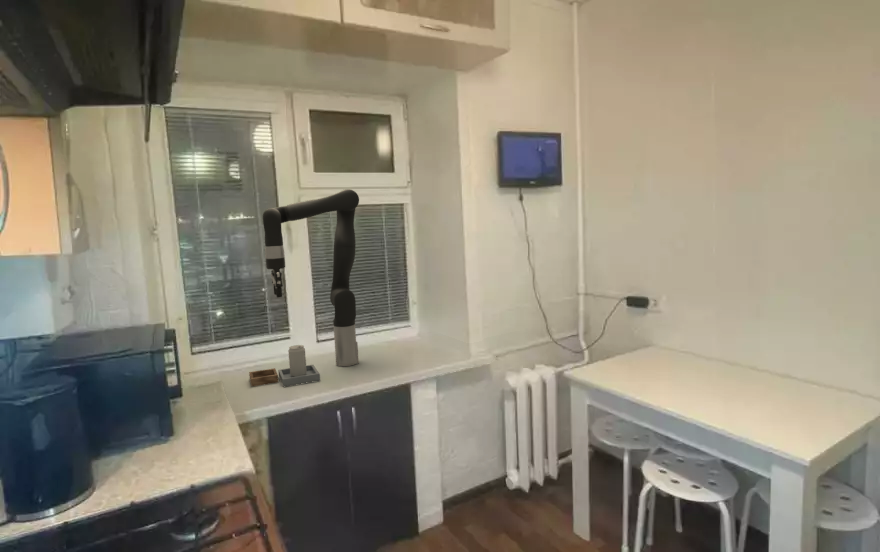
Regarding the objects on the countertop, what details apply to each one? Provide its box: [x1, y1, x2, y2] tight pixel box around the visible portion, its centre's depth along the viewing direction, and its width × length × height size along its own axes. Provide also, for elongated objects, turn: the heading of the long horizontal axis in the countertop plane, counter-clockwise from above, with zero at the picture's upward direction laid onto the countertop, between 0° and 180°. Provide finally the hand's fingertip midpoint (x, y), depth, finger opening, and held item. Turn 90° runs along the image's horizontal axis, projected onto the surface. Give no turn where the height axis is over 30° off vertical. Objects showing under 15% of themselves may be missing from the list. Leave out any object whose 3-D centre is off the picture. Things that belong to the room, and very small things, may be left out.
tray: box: [278, 364, 321, 388], centre depth 205 cm, size 14×14×3 cm
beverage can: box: [287, 344, 307, 377], centre depth 206 cm, size 6×6×12 cm
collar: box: [248, 367, 279, 387], centre depth 204 cm, size 10×10×3 cm
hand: (278, 295), depth 213 cm, fingers open, 8 cm apart
